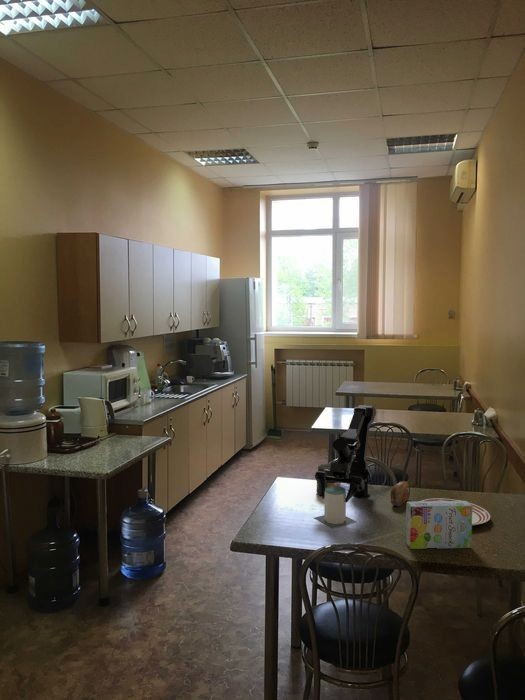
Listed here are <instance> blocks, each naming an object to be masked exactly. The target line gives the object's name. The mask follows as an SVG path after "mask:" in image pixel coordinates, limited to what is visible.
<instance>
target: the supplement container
mask: <svg viewBox="0 0 525 700" xmlns="http://www.w3.org/2000/svg"><path fill="white" fill-rule="evenodd" d="M330 466H331V463H329V464H328V463H327V464H320V465H318V466H317V471H322V472H326V473H327V476H333V475H332V473H331V472H332V471H330ZM327 485H328V486H327V487H330V486H339V487H341V483H339V482H332V481H328V483H327ZM315 490H316V494H317V495H318V496H320V497H322V489H321V485H320V484H319V483H318V482H317V481H316V489H315Z"/></svg>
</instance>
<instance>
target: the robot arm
mask: <svg viewBox="0 0 525 700" xmlns="http://www.w3.org/2000/svg"><path fill="white" fill-rule="evenodd" d="M376 416H377V409H376V408H374V406H373V405H364V404H359V405H358V406H354V408H353V415H352V417H351V420H350V423H349V425H348V428H347V430H346V431H344V432H343V433H342V435H339V438H336V439H335V440H334V441H333V443H332V447H333V450H334V453H335V456H336V457H337V460H336V462H334V461H333V462H330V464H331V466H330V471H332V472H331V473H332V475H333V476H327V473H326V472H322V471H318V470H317V471H316V472H315V473H314V474H315V475H314V479H315V480H316V483H317V482H318V483H319V484H320V485H321V489H322V496H321V498H322V499H323V500H325V488H327V486H328V485H327V483H328V481H332V482H339V483H340V484H345V485H347V484H348V485H349V487H348V490H347V492H346V500H345V502H346V504H347V503H348V502H349V501H350V500H351V499H352V497H355V498H358V499H361V498H365V497H369V496H371V494H370V493H369V485H368V484H370V483H372V473H371V471H370V465H369V463H368V461H367V452H368V443H369V434H370V433H369V432H370V427H371V425H372V424H373V423H374V421H375V417H376ZM353 452H355V456H354V454H353Z"/></svg>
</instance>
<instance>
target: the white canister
mask: <svg viewBox="0 0 525 700" xmlns="http://www.w3.org/2000/svg"><path fill="white" fill-rule="evenodd" d="M346 496H347V492H346V488H344V487H342V486H340V487H339V486H330V487H327V488H325V497H324V514H323V515H324V520H325V521H326V522H328V523H332V524H341V523H344V522H345V520H346V517H347V516H346V513H347V511H346V510H347V509H346V508H347V503H346V502H345V500H346Z"/></svg>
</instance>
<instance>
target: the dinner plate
mask: <svg viewBox="0 0 525 700" xmlns="http://www.w3.org/2000/svg"><path fill="white" fill-rule="evenodd" d="M421 501H461V500H459V499H453V498H443V497H442V498H441V497H440V498H439V497H436V498H435V497H433V498H426V499H422V500H421ZM467 502H468V503H469V504H471V505H472V527H473V526H477V525H482V524H484V523H487V522H489V521H490V519H491V514H490V513H489V511H488V510H486V509H485V508H483V507H481V506H479V505H477V504H475V503H471V502H469V501H467Z"/></svg>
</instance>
